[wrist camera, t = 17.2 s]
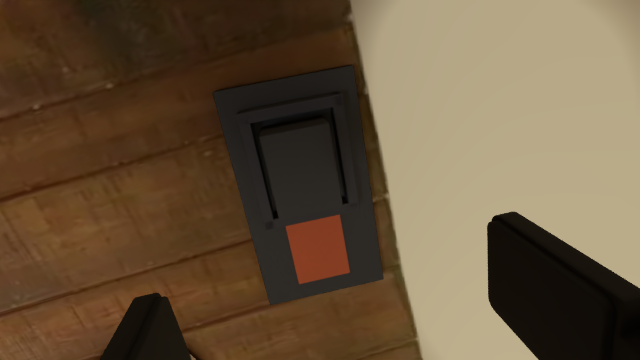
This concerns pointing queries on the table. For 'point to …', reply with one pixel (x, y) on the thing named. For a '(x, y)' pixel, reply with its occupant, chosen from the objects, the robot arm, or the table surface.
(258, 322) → the table surface
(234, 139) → the base pad
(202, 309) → the table surface
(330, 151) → the dark grey block
